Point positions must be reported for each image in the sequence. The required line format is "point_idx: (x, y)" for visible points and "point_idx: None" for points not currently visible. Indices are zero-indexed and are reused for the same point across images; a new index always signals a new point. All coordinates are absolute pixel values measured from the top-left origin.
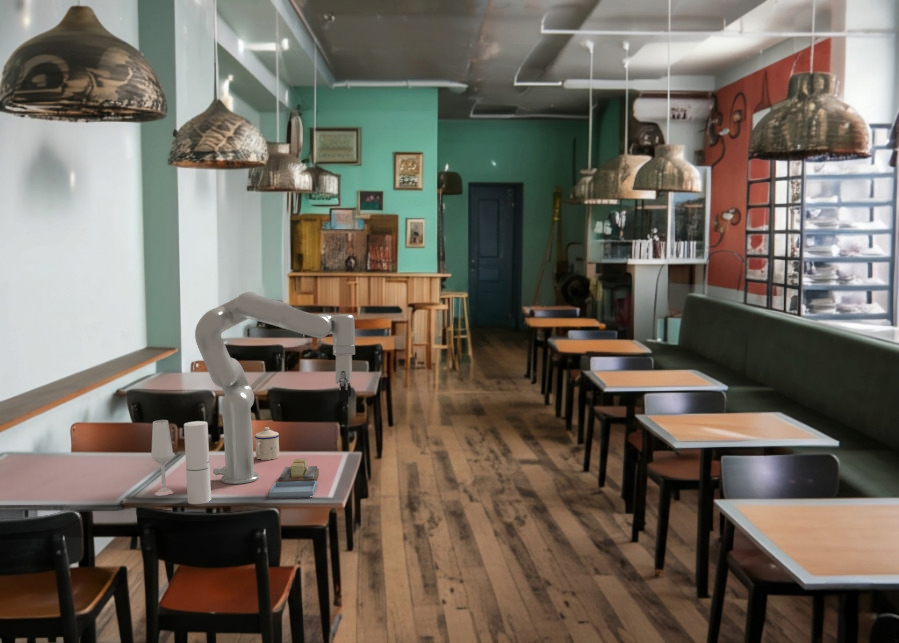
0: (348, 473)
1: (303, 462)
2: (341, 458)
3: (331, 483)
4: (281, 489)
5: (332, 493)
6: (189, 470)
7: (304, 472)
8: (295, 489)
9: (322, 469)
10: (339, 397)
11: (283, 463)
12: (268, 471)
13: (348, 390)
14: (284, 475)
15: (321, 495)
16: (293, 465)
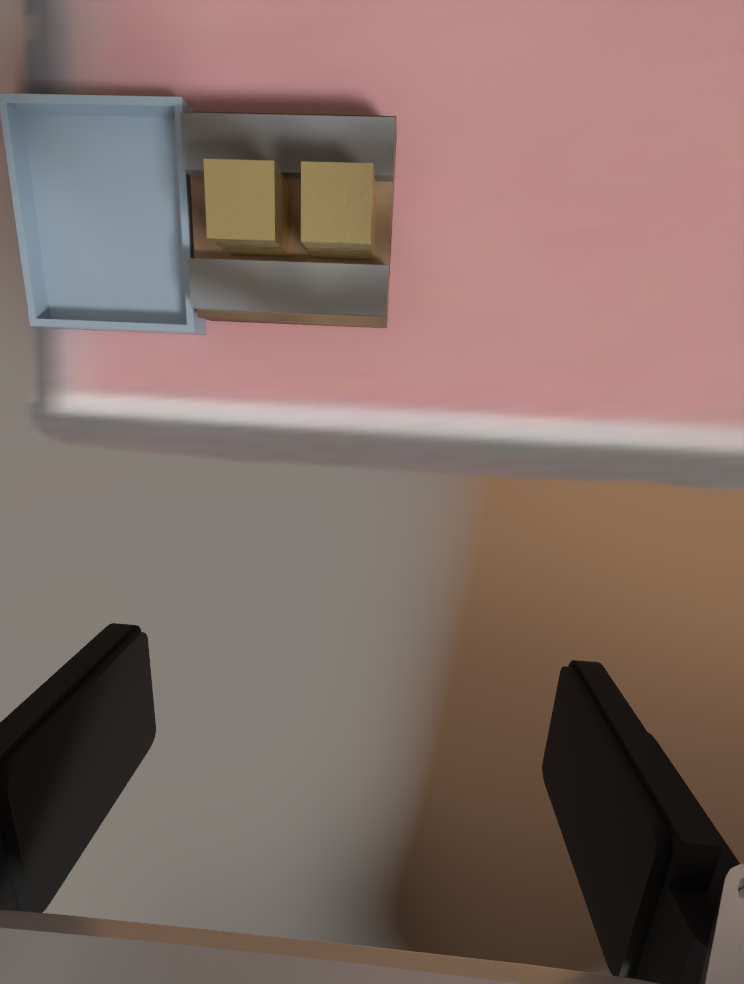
0: (405, 465)
1: (302, 233)
2: (702, 423)
3: (252, 396)
4: (133, 155)
5: (105, 408)
6: None
7: (277, 253)
8: (131, 232)
9: (504, 337)
10: (70, 667)
11: (700, 82)
12: (534, 8)
13: (582, 843)
14: (210, 139)
15: (77, 363)
16: (214, 175)
